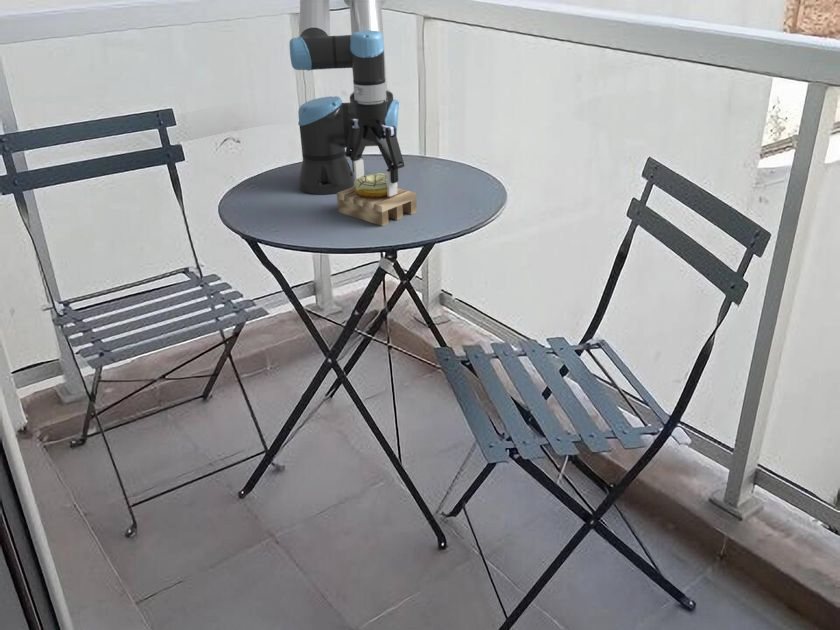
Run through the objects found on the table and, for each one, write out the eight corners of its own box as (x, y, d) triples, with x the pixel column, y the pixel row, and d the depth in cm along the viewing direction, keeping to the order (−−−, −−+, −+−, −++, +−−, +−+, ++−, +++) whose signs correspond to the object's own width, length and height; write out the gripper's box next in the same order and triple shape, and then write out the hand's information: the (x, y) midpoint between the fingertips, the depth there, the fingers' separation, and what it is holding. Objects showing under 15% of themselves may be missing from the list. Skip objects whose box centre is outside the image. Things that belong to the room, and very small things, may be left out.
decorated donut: (356, 186, 207) (355, 171, 205) (398, 184, 207) (397, 170, 205) (353, 199, 198) (352, 184, 196) (397, 198, 198) (396, 183, 196)
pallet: (338, 211, 206) (336, 192, 203) (372, 199, 213) (371, 180, 211) (382, 226, 196) (381, 206, 194) (416, 212, 204) (416, 193, 201)
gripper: (325, 97, 197) (333, 184, 207) (394, 110, 182) (399, 204, 193) (348, 91, 201) (355, 177, 212) (417, 104, 187) (420, 195, 197)
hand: (376, 190), depth 202 cm, fingers closed on decorated donut, 11 cm apart
